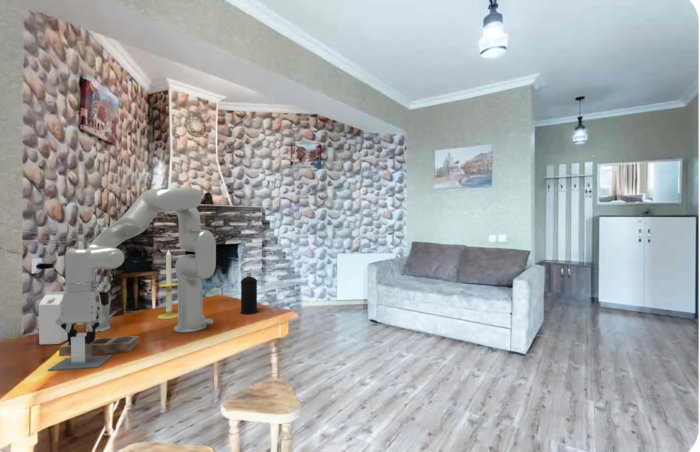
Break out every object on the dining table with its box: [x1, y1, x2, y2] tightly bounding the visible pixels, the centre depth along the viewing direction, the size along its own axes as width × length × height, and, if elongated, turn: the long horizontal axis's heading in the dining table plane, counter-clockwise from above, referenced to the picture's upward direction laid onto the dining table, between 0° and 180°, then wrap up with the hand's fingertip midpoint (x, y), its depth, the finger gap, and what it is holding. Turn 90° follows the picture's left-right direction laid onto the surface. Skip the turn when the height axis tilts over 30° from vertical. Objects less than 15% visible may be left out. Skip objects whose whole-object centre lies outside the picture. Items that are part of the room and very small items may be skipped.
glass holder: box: [85, 291, 112, 333], centre depth 150 cm, size 9×14×15 cm, turn 9°
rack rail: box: [58, 335, 140, 357], centre depth 125 cm, size 22×8×3 cm, turn 100°
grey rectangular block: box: [70, 332, 93, 365], centre depth 113 cm, size 4×4×9 cm
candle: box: [157, 248, 178, 320], centre depth 166 cm, size 10×10×32 cm
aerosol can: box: [239, 271, 258, 315], centre depth 174 cm, size 8×8×20 cm
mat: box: [47, 354, 113, 372], centre depth 113 cm, size 14×9×1 cm, turn 100°
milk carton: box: [38, 291, 68, 345], centre depth 133 cm, size 7×7×19 cm
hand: (81, 342), depth 113 cm, fingers open, 4 cm apart
